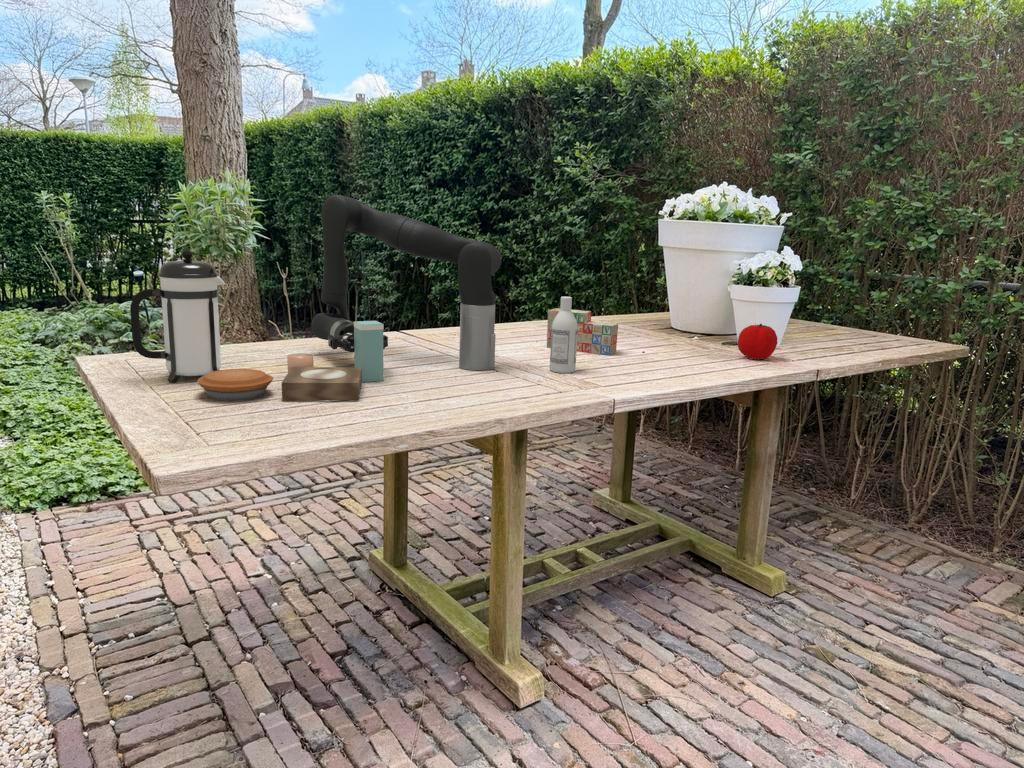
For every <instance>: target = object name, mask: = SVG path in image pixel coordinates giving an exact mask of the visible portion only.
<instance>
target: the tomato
mask: <svg viewBox="0 0 1024 768" xmlns="http://www.w3.org/2000/svg"><path fill="white" fill-rule="evenodd" d="M777 345H778V336H777V333H776V330H775V329H773V328H772V327H771V326H769V325H764V324H763V323H759V324H756V323H754V324H751V325H748V326H746V327H744V328H742V329H741V331H740V333H739V335H738V339H737V347H738V350H739V352H740V354H742V355H743V356H745V357H746V358H748V359H752V358H753V360H757V359H763V360H766V359H769V358H770V357H771V356H772V354H774V352H775V351H776V348H777Z"/></svg>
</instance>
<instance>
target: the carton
mask: <svg viewBox="0 0 1024 768" xmlns="http://www.w3.org/2000/svg"><path fill="white" fill-rule="evenodd" d="M353 322H354V352H353V354H354V355H353V356H354V367H353V368H362V382H364V383H369V382H368V381H377V382H384V349H383V335H384V330H385V329H384V328H385V327H384V325H385V324H384V323H382V322H379V321H378V320H363V321H362V320H361V321H360V320H359V321H353Z"/></svg>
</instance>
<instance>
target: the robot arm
mask: <svg viewBox="0 0 1024 768" xmlns="http://www.w3.org/2000/svg"><path fill="white" fill-rule="evenodd" d="M321 223H322V224H321V227H322V241H323V243H322V245H323V270H322V271H323V272H322V273H323V274H322V275H323V276H322V283H321V284H322V286H321V294H320V300H321V303H323V304H324V305H327V306H330V307H333V308H334V309H335V310H336V313H327V312H326V313H325V312H320V313H317V314H315V316H313V318H312V320H311V331H312V333H313V335H314V336H315V337H316V338H318V339H321V340H325V341H327V343H328V347H329V348H331V349H332V350H337V349H338V348H339V349H340V350H343V351H345V352H348V353H354V322H355V321H351V320H350V316H349V312H348V300H347V299H348V289H349V269H348V263H347V259H346V253H345V239H346V238H345V237H346V232H353V233H357V234H362V235H366V236H370V237H373V238H376V239H377V240H379V241H381V242H383V243H384V244H386V245H387V246H390V247H391V248H393V249H395V250H398V251H400V252H403V253H406V254H409V255H411V256H416V257H421V258H426V259H430V260H438V261H444V262H449V263H452V264H454V265H457V288H458V289H457V290H458V293H459V296H460V307H459V308H460V311H459V313H460V315H459V316H460V317H459V319H460V321H459V351H458V353H459V356H458V357H459V359H458V361H459V364H458V366H459V368H461V369H464V370H469V371H488V370H495V365H496V364H495V363H496V362H495V361H496V360H495V359H496V333H495V326H496V325H495V324H496V294H495V293H494V291H493V288H492V275H494V274H495V273H496V272H497V271H499V269H500V267H501V265H502V256H501V253H500V251H499V250H498V249H497V248H496V247H495V246H494V245H493V244H492V243H489V242H486V241H480V240H474V239H470V238H467V237H463V236H462V237H461V236H458V235H455V234H453V233H450V232H448V231H446V230H443V229H442V228H439V227H437V226H434V225H431V224H429V223H426V222H424V221H421V220H418V219H415V218H411V217H409V216H405V215H400V214H397V213H389V212H384V211H381V210H378V209H376V208H374V207H371V206H369V205H366V204H365V203H363V202H360V201H359V200H357V199H356V198H352V197H349V196H346V195H345V196H344V195H341V194H332V195H330V196H328V197H327V198H326V199H325V200H324V202H323V204H322V208H321ZM388 342H389V336H388V335H385V334H383V350H385V348H387V347H388V346H389V343H388Z"/></svg>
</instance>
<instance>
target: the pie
mask: <svg viewBox="0 0 1024 768" xmlns="http://www.w3.org/2000/svg"><path fill="white" fill-rule="evenodd" d="M273 380H274V376H272V375H270V374H268V373H266V372H265V371H262V370H259V369H255V368H254V369H252V368H230V369H229V368H228V369H219V370H218V371H214V372H210V373H208V374H206V375H201V377H199V378H198V379H197V384H198V385H199V386H200V387H201V388H202V389H203V390H204V391H205V393H206V394H207V396H208V397H209V398H211V399H213V400H216V401H224V402H225V401H226V402H236V401H237V402H238V401H246V400H247V401H248V400H253V399H256V398H260V397H262V396H263V395H264V394H265V391H266V390H267V388H268V387H269V385H271V383H272V382H273Z"/></svg>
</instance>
